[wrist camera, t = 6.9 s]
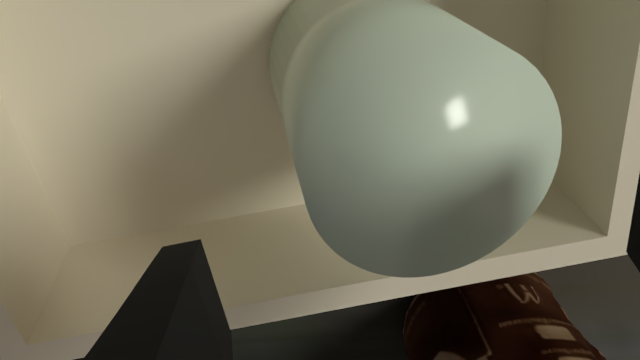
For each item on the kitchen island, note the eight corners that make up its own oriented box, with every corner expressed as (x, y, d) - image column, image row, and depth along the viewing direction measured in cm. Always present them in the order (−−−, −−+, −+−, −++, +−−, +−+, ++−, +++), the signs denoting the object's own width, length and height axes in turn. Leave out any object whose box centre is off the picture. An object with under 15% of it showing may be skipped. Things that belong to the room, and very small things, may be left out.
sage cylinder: (290, 156, 18) (332, 304, 11) (248, -3, 15) (272, 79, 9) (441, 116, 18) (560, 240, 12) (424, -48, 15) (564, 3, 9)
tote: (59, 258, 19) (8, 371, 15) (-166, -215, 12) (-379, -254, 8) (546, 169, 20) (630, 253, 16) (591, -324, 13) (761, -413, 9)
